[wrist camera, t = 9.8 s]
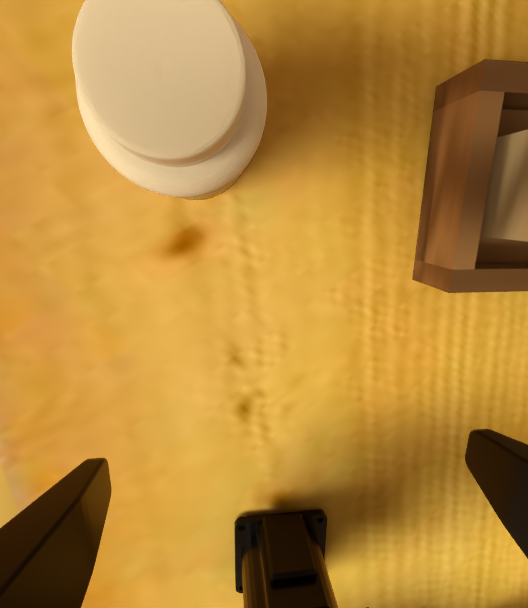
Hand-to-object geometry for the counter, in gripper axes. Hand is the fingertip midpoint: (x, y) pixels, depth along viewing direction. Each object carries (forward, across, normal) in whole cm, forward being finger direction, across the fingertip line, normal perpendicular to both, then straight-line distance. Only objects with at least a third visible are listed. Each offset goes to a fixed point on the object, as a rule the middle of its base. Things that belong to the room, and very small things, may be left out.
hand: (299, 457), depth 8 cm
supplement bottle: (+13, +3, -9) cm, 16 cm away
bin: (+12, -15, -7) cm, 21 cm away
